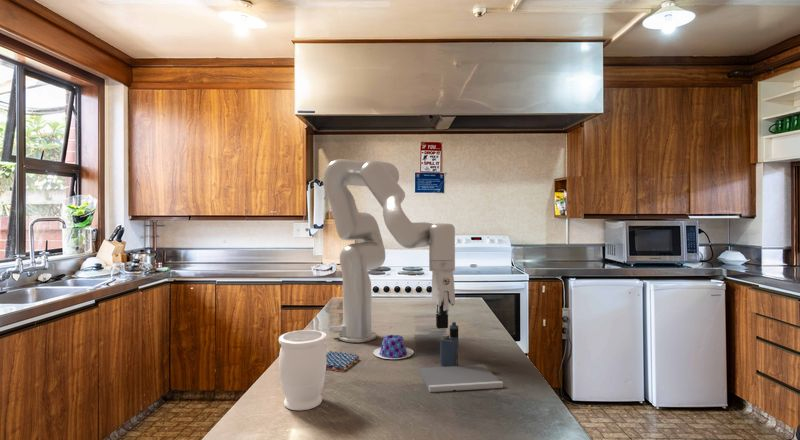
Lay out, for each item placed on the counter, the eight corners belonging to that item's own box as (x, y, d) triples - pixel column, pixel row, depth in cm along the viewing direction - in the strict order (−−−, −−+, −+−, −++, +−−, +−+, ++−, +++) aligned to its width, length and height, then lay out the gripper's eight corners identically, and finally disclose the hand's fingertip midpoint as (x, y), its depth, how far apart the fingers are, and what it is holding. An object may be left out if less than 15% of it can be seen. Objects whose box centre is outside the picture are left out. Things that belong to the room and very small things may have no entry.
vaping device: (456, 368, 118) (456, 324, 118) (438, 365, 121) (438, 321, 120) (460, 365, 120) (460, 322, 120) (442, 362, 123) (442, 319, 123)
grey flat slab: (429, 392, 103) (429, 387, 103) (418, 370, 117) (418, 365, 117) (503, 387, 105) (503, 382, 105) (483, 366, 119) (484, 362, 119)
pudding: (374, 348, 137) (374, 331, 136) (413, 348, 136) (413, 331, 136) (371, 361, 125) (371, 343, 124) (413, 361, 124) (413, 343, 124)
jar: (283, 393, 102) (283, 329, 102) (328, 391, 103) (328, 328, 103) (274, 414, 92) (274, 343, 91) (324, 412, 92) (324, 342, 92)
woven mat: (309, 369, 119) (309, 362, 119) (329, 357, 129) (329, 350, 129) (343, 374, 115) (343, 367, 115) (361, 361, 125) (361, 354, 125)
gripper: (461, 268, 122) (461, 334, 122) (448, 262, 136) (448, 320, 137) (435, 269, 120) (435, 335, 121) (424, 262, 135) (424, 321, 136)
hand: (442, 327), depth 129 cm, fingers closed
